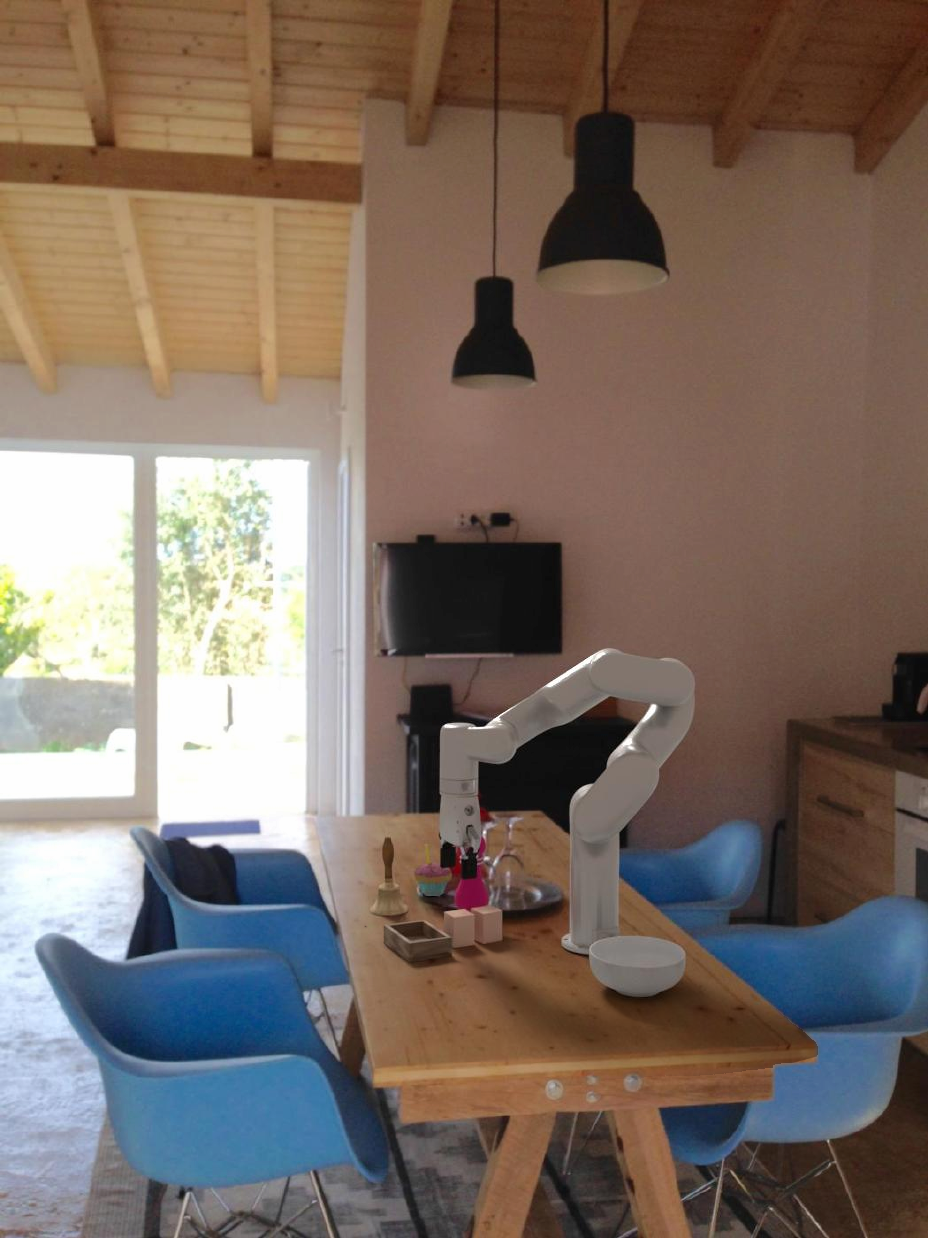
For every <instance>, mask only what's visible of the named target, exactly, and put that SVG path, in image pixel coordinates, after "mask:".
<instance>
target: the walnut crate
mask: <svg viewBox="0 0 928 1238" xmlns="http://www.w3.org/2000/svg"><path fill="white" fill-rule="evenodd" d="M383 944H384V945H386V946H387V947H389V948H390V949H391V950H393V951H394V953H396V954H398V955H399V956H401V957H402V958H403V959H404V960H406V961H407V962H409V963H412V962H413V963H414V962H419V961H425V960H431V959H438V958H445V957H452V956H453V947H452V937H450V936H449V935H447V934H446V933H444V930H441V929H440V928H438V927H437V926H435V925H433V923H430V922H429V921H427V920H426V919H419V920H418V919H417V920H412V921H405V922H398V923H389V924H383Z"/></svg>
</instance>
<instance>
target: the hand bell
mask: <svg viewBox="0 0 928 1238" xmlns="http://www.w3.org/2000/svg"><path fill="white" fill-rule="evenodd" d="M381 855H382V861H383V865H384V882H383V883H382V884H380V885H379V886H378V890H377V897H376V899H375V902H374V904H373V905H372V906H371V907H370V908H369V909H370V910H369V912H370V914H372V915H375V916H380V917H381V916H382V917H395V916H401V915H404V914H406V913H408V912H409V907H408V906H407V905H406V904H405V903H404V901H403V898H402V897H401V891H400V886H399V885H398V884H397V883H395V882H394V879H393V869H392V868H393V863H394V857H395V847H394V845H393V842H392V838H391V836H385V837H384V840H383V844H382V848H381Z"/></svg>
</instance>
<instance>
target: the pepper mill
mask: <svg viewBox="0 0 928 1238" xmlns="http://www.w3.org/2000/svg"><path fill="white" fill-rule="evenodd" d="M465 843H468V842H465ZM486 847H487V843H486V839H485V838H484V836H482V835H481V843H480V847H479V849H480V850H479V853H478V858H477V878H475V879H466V880H463V879H461V878H460V881H459V884H458V886H457V888H456V890H455V894H454V904H455V906H456V907H457V908H458V910H461V909H466V910H467V911H469V912H471V909H472V908H477V907H483V906H488V905H489V902H490V898H489V892H488V889H487V887H486V886H485V882H484V880H483V876H482V865H483V863H485V862H484V855H483V854H484V852H485V851H486ZM468 849H469V848H466V851H468ZM457 851H458V852H459V853H460V856H459V859H460V860H459V863H460V864H461V859H464V858H463V855H462V852H461V849H460V847H457Z"/></svg>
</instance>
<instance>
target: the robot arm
mask: <svg viewBox="0 0 928 1238" xmlns="http://www.w3.org/2000/svg"><path fill="white" fill-rule="evenodd" d="M695 686H696V681H695V677H694V674H693V672H692V671H691V669H690V668H689V667H688V666H687V665H686V664H684V663H683V662H682V661H680V660H678V659H676V658H672V657H664V658H660V659H658V658H653V657H646V656H639V655H634V654H629V653H625V652H622V651H620V650H619V649H616V648H611V647H610V648H609V647H608V648H603V649H601V650H598V651H597V652H595V653H594V654H592V655H590V656H588V658H585V660H584V659H583V661H581V662H579V663H578V664H577V665H575V666H574V667H572V668H570V669H569V670H567V671H566V672H564V673H563V674H561V675H559V676H558V677H556V678H555V679H553V680H552V681H550V682H549V683H547V684H546V685H544V686H542V687H541V688H539V689H538V690H537V691H535V692H534V693H533V694H531V695H530V696H528V697H527V698H525V699H524V700H522V701H520V702H519V703H517V704H515V705H514V706H512V707H510V708H509V709H508V710H506V711H505V712H503V713H501V714H499V715H498V716H497V717H495V718H493V720H491V721H490V722H488V723H487V724H486V725H485V726H476V725H475V724H473V723H469V722H451V723H446V724H444V725H442V727H441V728H440V733H439V735H440V736H439V751H440V752H439V794H440V796H441V797H440V805H439V807H440V809H439V821H438V822H437V827H438V837H439V843H438V844H439V848H440V849H439V859H440V860H439V863H440V867H441V868H449V869H450V868H455V867H456V866H457V865H456V863H457V862H456V861H457V859H456V858H457V857H456V856H457V855H456V854H457V848H458V847H460V849H461V852H462V855H463V858H464V859H461V863H460V880H461V879H463V880H466V879H475V878H477V858H478V853H479V850H480V849H479V847H480V843H481V836H482V831H481V830H482V827H481V812H480V810H481V809H480V802H479V797H478V795H479V762H482V763H486V764H496V765H500V764H504V763H507V762H509V761H510V760H511V759H512V758H513V757H514V755H515V753H517V749H518V748H520V747H521V746H523V745H524V744H525V743H527V742H529V741H531V740H532V739H533V738H535V737H537V736H538V735H540V734H542V733H543V732H546V731H547V730H550V729H552V728H555V727H559V726H563V725H566V724H568V723H571V722H572V721H574V720H575V719H577V718H578V717H580V716H581V715H583V714H584V713H586V712H587V711H590V709H592V708H593V707H595V706H597V705H598V704H600V703H601V702H603V701H604V700H607V699H608V698H610V697H613V698H618V699H622V700H629V701H634V702H639V703H640V702H641V703H647V704H650V705H649V707H648V709H647V711H646V712H645V715H643V717H642V718H641V719H640V721H638V723H637V724H636V726H635V727H634V729H633V730H631V732H630V733H629V734H627V737H626V738H625V739H624V740H623V741H622V742H621V743H620V744H619V745H618V746H617V747H616V749H614V750H613V752H612V753H611V754H610V755H609V757H608V759H607V763H606V768H605V770H604V771H603V772H602V773H601V774H600V776H599V777H598V778H597V779H596V781H595V782H594V783H589V784H586V785H583V786H582V787H580V788H579V789H577V790H576V791H575V793H574V794H573V795H572V797H571V799H570V803H569V933H566V934H565V935H563V936H562V937H561V946H562V947H563V948H564V949H565V950H567V951H569V952H572V953H577V954H581V955H586V956H589V949H590V946H591V945H592V944H593V943H595V942H597V941H599V940H602V939H606V938H610V937H618V936H621V935H620V934H621V933H620V932H621V928H620V927H619V915H620V914H619V913H620V912H619V911H620V907H619V897H620V895H619V892H620V890H619V888H620V886H619V885H620V883H619V881H620V877H619V876H620V870H619V869H620V832H621V831H622V830H623V829H624V828H625V827H626V825H627V824H628V823H629V822H630V821H631V820H632V818H633V817H634V816H635V815H636V814H637V813H638V811H640V810H641V808H642V807H643V806H644V804H646V802H647V801H648V800H649V799H650V797H651V796H652V794H653V793H654V791H655V789H656V788H657V786H658V784H659V781H660V780H659V779H660V769H661V767H662V766H663V764H664V763H666V761H667V760H668V758H669V757H671V755H672V754H673V752H674V751H675V750H676V748H677V746H678V745H679V744H680V743H681V742H682V740H683V739H684V738H685V736H686V735H687V733H688V731H689V729H690V727H691V725H692V721H693V718H694V714H695V703H696V701H695V697H696V696H695V692H694V691H695V689H696V687H695ZM465 842H468V843H465ZM466 848H469V849H468V851H466Z"/></svg>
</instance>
